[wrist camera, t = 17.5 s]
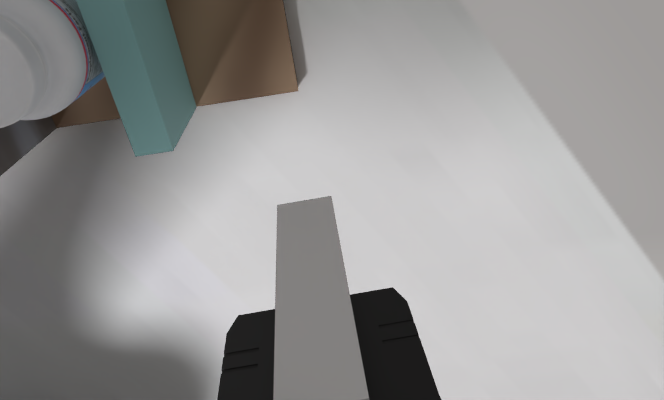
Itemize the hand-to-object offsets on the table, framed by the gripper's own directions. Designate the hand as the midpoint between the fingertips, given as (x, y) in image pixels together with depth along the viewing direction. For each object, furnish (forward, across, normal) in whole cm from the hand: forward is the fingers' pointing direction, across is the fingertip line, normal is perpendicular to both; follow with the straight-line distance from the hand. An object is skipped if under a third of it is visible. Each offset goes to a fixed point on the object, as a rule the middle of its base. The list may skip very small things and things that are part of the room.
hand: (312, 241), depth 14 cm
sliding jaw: (+19, -8, +5) cm, 21 cm away
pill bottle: (+20, -12, +5) cm, 24 cm away
